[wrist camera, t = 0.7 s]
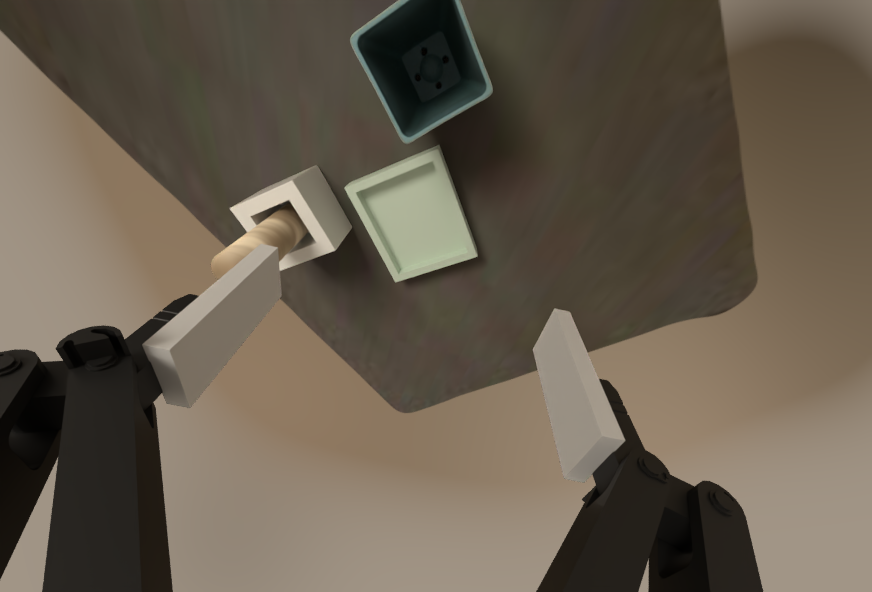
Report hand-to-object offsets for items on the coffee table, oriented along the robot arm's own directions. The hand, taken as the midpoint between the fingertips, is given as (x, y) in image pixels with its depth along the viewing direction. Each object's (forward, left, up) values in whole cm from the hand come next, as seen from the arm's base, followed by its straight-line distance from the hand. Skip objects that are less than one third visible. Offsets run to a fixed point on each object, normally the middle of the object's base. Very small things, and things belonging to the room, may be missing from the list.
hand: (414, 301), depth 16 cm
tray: (+5, -6, -28) cm, 29 cm away
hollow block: (-1, -19, -28) cm, 34 cm away
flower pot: (-9, +2, -28) cm, 30 cm away
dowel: (-1, -19, -27) cm, 33 cm away
